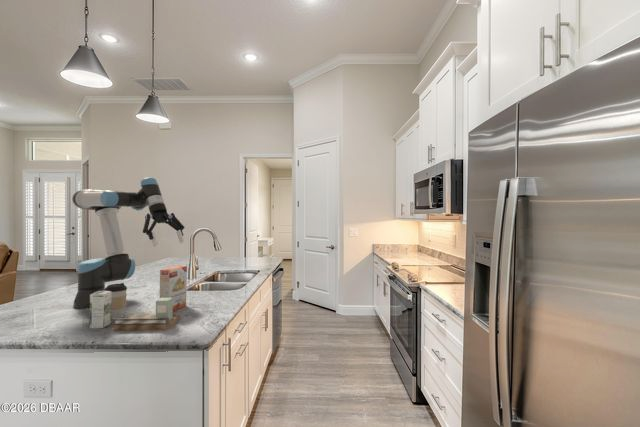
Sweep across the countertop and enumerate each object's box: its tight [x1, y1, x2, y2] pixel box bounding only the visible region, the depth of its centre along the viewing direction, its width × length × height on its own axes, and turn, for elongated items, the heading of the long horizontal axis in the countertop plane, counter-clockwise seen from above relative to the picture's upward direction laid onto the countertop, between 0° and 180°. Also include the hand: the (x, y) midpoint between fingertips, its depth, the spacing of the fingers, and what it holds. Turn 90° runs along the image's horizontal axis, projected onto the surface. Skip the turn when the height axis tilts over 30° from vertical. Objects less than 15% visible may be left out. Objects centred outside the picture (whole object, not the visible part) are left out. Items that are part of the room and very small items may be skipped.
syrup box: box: [88, 291, 112, 330], centre depth 138 cm, size 6×6×14 cm
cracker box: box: [158, 265, 188, 312], centre depth 163 cm, size 14×6×21 cm, turn 168°
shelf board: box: [112, 313, 182, 331], centre depth 141 cm, size 22×14×4 cm, turn 93°
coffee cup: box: [104, 282, 128, 320], centre depth 151 cm, size 9×9×15 cm
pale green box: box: [155, 297, 174, 321], centre depth 140 cm, size 5×5×9 cm
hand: (169, 243), depth 157 cm, fingers open, 13 cm apart
